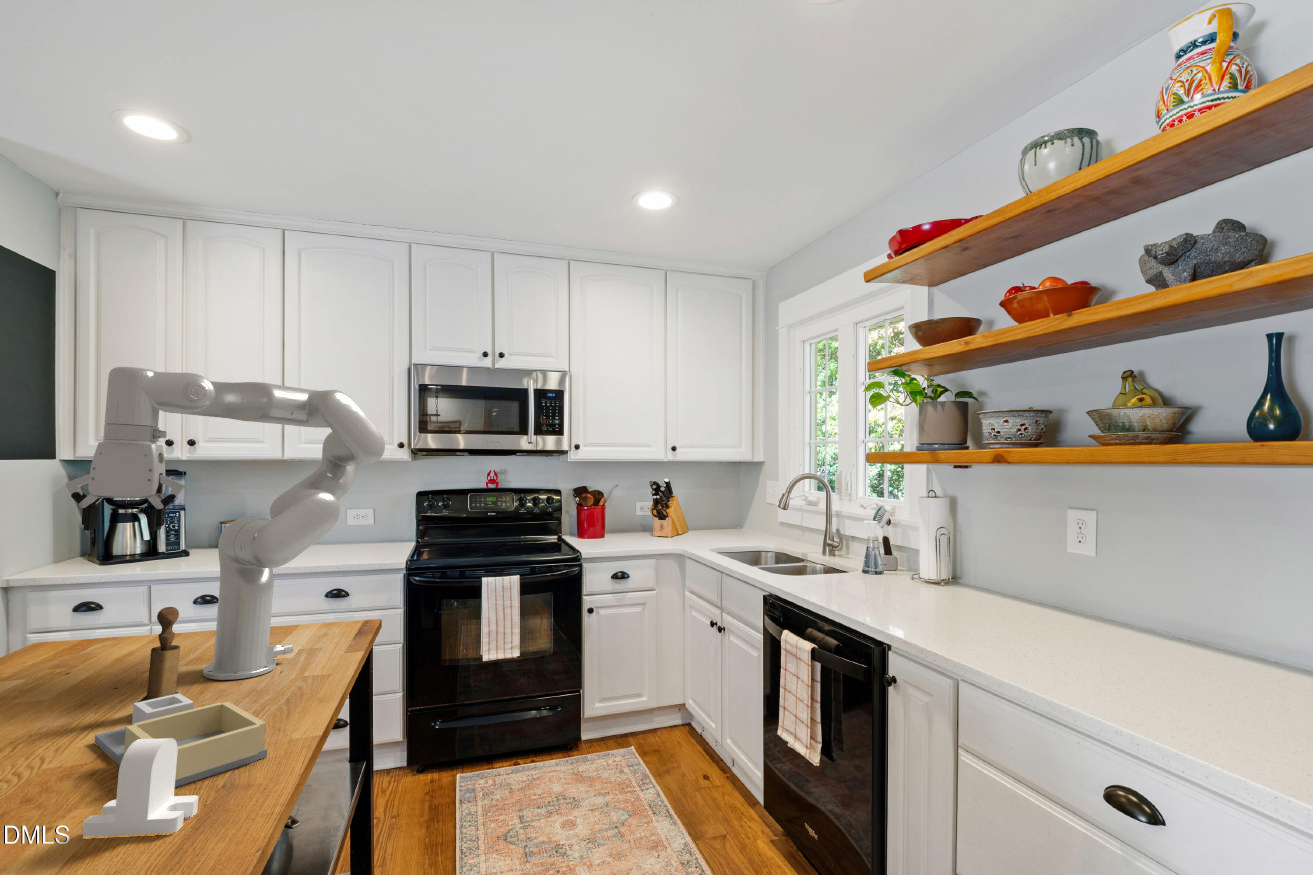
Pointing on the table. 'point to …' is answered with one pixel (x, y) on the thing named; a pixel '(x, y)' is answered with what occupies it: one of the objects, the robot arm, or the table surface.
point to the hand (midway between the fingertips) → (123, 529)
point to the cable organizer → (144, 794)
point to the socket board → (192, 735)
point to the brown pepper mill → (164, 658)
